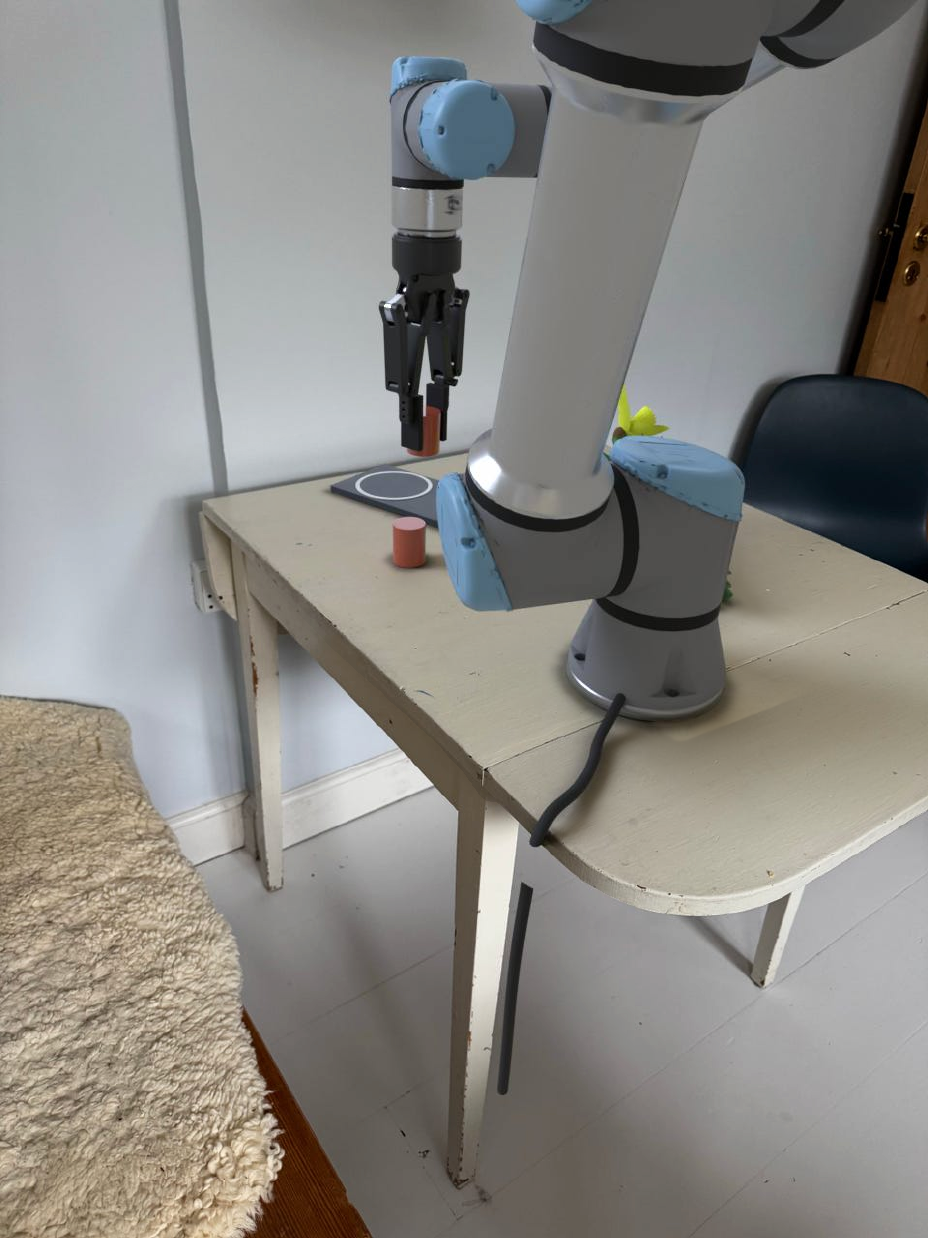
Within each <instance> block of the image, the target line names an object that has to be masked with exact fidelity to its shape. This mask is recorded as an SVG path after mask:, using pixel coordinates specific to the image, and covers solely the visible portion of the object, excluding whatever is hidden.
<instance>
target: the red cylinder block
mask: <svg viewBox="0 0 928 1238" xmlns="http://www.w3.org/2000/svg"><path fill="white" fill-rule="evenodd" d="M426 549H427V524H426V523H425V521H424V520H422V519H420V518H416V517H404V516H401V517H399V518H396V519H394V520H393V522H392V561H393V563H394V564H395V565H396V566H397V567H401V568H406V569H407V568H408V569H413V568H418V567H422V566H423V565H424V564H426V559H427V558H426V557H427V556H426V555H427V553H426V552H427V551H426Z"/></svg>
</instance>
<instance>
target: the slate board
mask: <svg viewBox="0 0 928 1238" xmlns="http://www.w3.org/2000/svg"><path fill="white" fill-rule="evenodd" d="M439 480H440V479H436V478H433V477H429V476H427V475H423V474H420V473H416V472H414V471H410V470H406V469H402V468H400V467H396V466H393V465H390V464H387V463H383V464H381V465H378V466H376V467H373V468H371V469H368V470H366V471H363V472H361V473H358V474H355V475H353V476H351V477H348V478H346V479H343V480H341V481H338V482H335V483H333V484H330V493H333V494H336V495H339V496H343V497H345V498H348V499H351V500H354V501H357V502H360V503H363V504H365V505H369V506H372V507H375V508H378V509H381V510H384V511H387V512H389V513H392V514H396V515H399V516H401V517H416V518H420V519H422V520H424V521H425V523H426V525H429V526H432V527H434V528H438V529H439V527H438V519H437V509H436V490H437V485H438V482H439Z"/></svg>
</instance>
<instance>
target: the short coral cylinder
mask: <svg viewBox="0 0 928 1238" xmlns="http://www.w3.org/2000/svg"><path fill="white" fill-rule="evenodd" d="M440 420H441V411H440V410H439V409H437V408H435V407H430V406H426V405H423V450H421V451H419V452H418V451H415V450H412V449H408V448H406V453H408V454H409V455H411V456H413V457H420V458H430V457H434V456H437V455H438V454H439V453H440V447H441V446H440V445H441V441H440Z"/></svg>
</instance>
